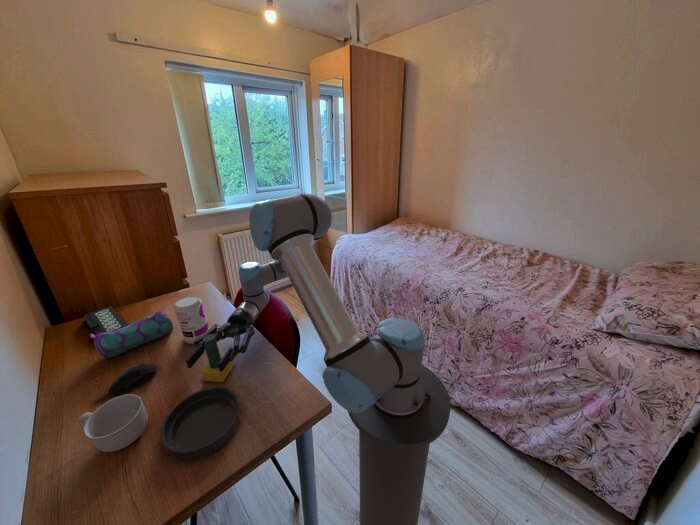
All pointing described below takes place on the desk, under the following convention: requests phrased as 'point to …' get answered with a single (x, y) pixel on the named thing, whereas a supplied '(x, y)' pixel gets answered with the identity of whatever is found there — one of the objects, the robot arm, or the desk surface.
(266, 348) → the desk surface
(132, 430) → the teacup
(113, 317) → the digital display
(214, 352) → the green peg on stand
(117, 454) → the desk surface
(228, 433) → the bowl
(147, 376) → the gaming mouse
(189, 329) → the supplement can
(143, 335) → the pencil case
